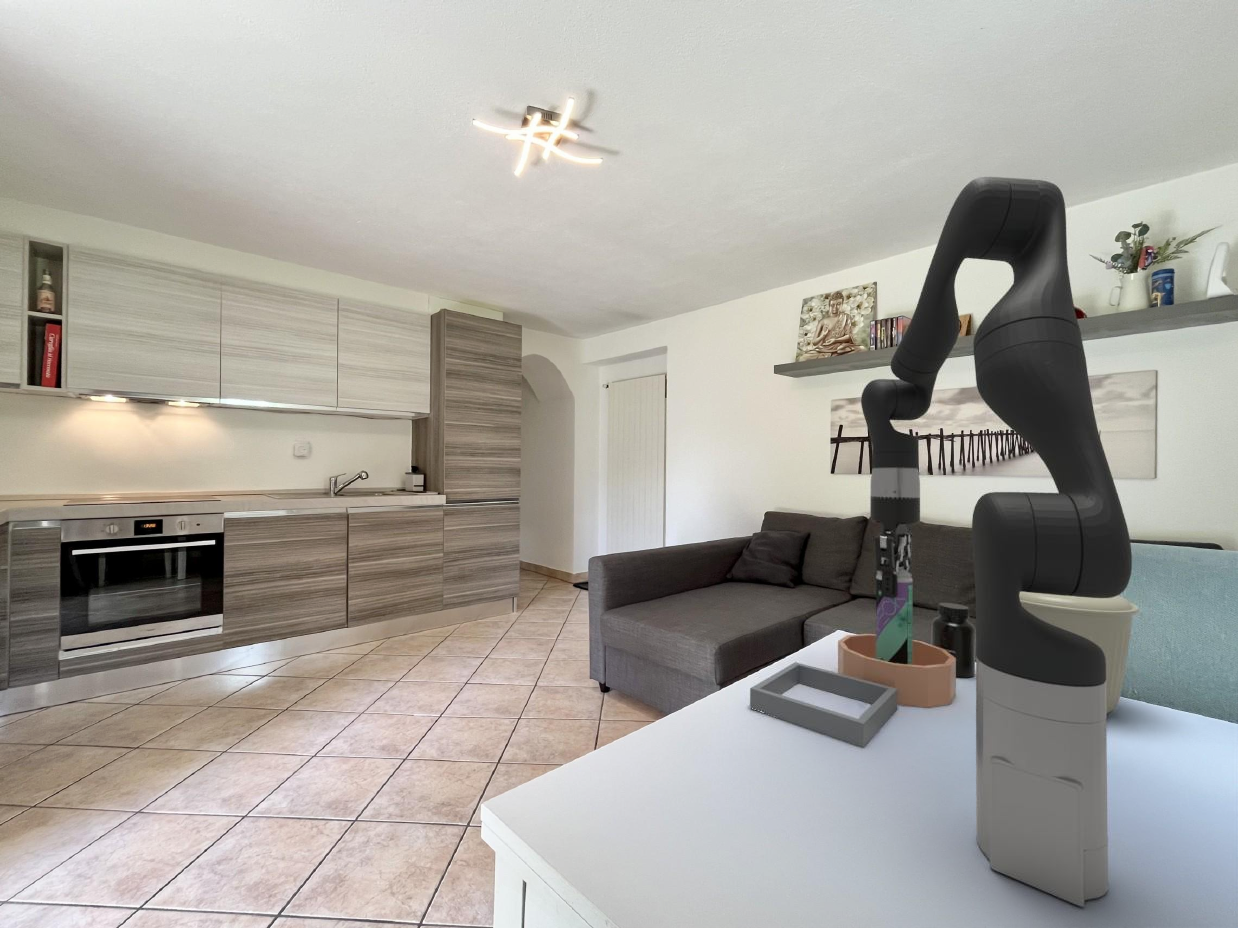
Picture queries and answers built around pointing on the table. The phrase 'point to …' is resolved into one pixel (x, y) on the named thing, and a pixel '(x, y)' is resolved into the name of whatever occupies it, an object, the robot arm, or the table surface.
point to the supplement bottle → (955, 636)
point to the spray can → (895, 620)
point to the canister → (1091, 628)
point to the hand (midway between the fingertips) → (894, 593)
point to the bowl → (902, 670)
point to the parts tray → (819, 718)
